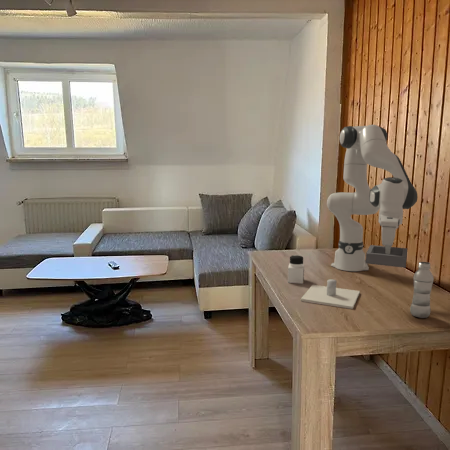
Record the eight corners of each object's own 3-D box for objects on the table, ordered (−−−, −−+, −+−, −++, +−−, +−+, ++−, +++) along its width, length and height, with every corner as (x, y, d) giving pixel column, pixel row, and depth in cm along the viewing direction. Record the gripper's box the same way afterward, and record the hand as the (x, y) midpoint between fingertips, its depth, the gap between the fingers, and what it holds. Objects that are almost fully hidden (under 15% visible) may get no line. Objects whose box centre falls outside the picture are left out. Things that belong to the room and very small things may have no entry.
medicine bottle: (303, 283, 185) (304, 258, 183) (287, 282, 186) (288, 257, 184) (303, 279, 192) (304, 254, 190) (288, 278, 193) (289, 253, 191)
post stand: (312, 286, 181) (313, 271, 180) (359, 293, 173) (360, 277, 171) (300, 301, 163) (301, 284, 162) (352, 309, 155) (353, 291, 154)
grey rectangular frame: (369, 254, 169) (370, 245, 168) (406, 258, 163) (407, 248, 162) (365, 263, 156) (366, 253, 155) (405, 267, 150) (406, 257, 149)
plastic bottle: (406, 313, 151) (410, 260, 147) (423, 312, 151) (428, 260, 148) (415, 320, 144) (420, 265, 141) (433, 319, 145) (439, 265, 142)
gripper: (384, 214, 173) (381, 246, 175) (379, 222, 155) (377, 257, 157) (400, 215, 170) (397, 248, 173) (397, 223, 152) (395, 259, 154)
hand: (388, 252), depth 165 cm, fingers closed on grey rectangular frame
